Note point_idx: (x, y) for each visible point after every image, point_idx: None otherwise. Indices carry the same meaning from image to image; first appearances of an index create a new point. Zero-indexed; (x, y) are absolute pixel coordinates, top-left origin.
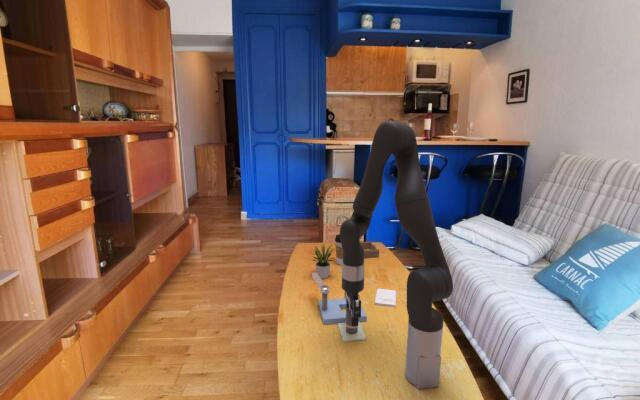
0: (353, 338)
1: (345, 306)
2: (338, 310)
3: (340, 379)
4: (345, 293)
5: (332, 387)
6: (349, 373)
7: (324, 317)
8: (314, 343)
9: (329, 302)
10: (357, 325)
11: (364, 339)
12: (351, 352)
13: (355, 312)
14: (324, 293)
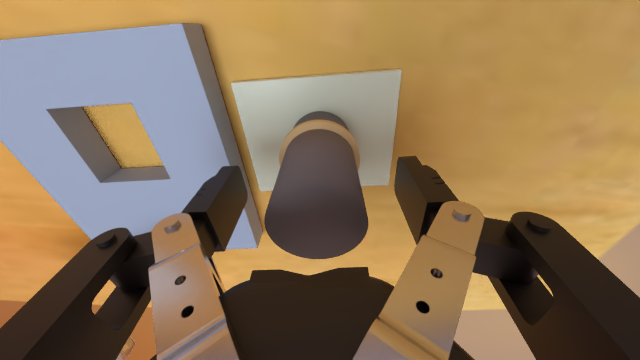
0: (386, 142)
1: (88, 141)
2: (164, 190)
3: (583, 211)
4: (131, 330)
5: (598, 233)
6: (578, 183)
7: (241, 244)
8: (373, 258)
9: (101, 218)
10: (427, 166)
11: (399, 83)
12: (466, 159)
13: (364, 209)
14: (132, 341)
